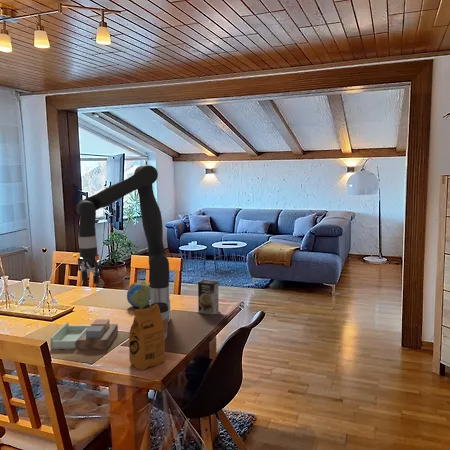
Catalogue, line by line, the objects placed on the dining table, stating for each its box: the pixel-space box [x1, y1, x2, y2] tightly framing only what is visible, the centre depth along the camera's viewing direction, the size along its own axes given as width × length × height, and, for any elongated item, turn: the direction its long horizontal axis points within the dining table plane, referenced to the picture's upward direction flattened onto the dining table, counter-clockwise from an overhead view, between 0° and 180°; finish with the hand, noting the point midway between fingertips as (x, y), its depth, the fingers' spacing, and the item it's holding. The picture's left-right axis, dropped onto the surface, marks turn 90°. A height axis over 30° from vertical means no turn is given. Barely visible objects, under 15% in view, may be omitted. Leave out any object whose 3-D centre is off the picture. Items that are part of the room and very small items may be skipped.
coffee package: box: [128, 304, 166, 371], centre depth 162 cm, size 10×12×22 cm
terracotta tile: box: [91, 318, 111, 331], centre depth 188 cm, size 6×6×3 cm
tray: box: [49, 322, 90, 351], centre depth 185 cm, size 10×18×5 cm, turn 0°
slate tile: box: [86, 325, 105, 338], centre depth 180 cm, size 6×6×3 cm
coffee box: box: [197, 279, 220, 316], centre depth 220 cm, size 9×6×16 cm
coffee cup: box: [148, 302, 169, 340], centre depth 186 cm, size 8×8×15 cm
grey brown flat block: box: [77, 323, 119, 350], centre depth 185 cm, size 12×18×4 cm, turn 0°
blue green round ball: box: [126, 281, 150, 309], centre depth 230 cm, size 14×16×15 cm
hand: (90, 282), depth 190 cm, fingers open, 8 cm apart
